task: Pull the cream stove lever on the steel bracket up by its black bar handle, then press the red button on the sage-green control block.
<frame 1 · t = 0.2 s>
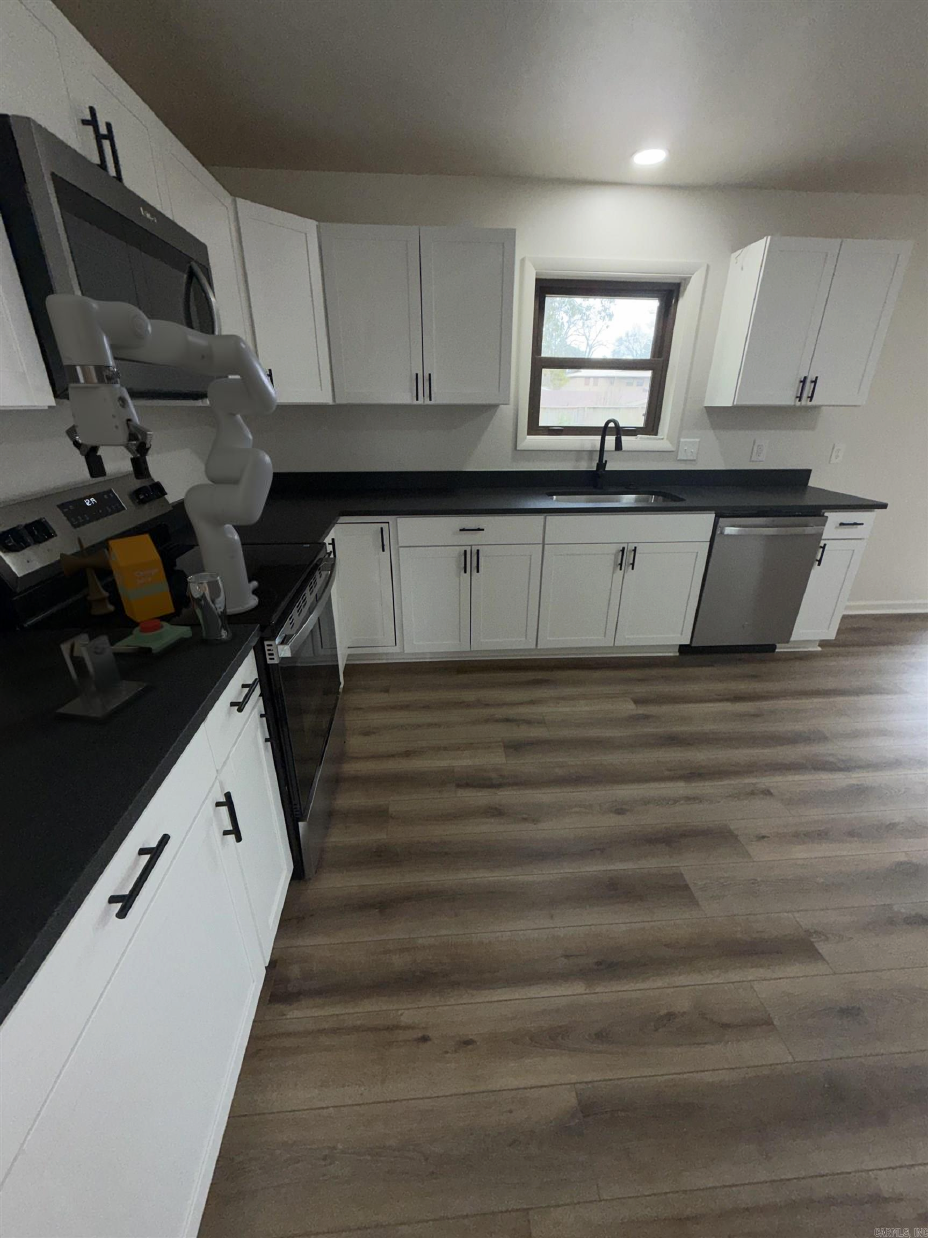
hand: (121, 477, 94), 37 cm above the counter, tool pointing down, fingers open, 9 cm apart
beer glass: (218, 639, 114), on the counter
stove lever: (112, 649, 91), point 9 cm above the counter, hinge at -28.0°
kendama: (103, 613, 127), on the counter
button block: (156, 644, 111), on the counter
start button: (150, 626, 109), point 4 cm above the counter, slide at 0.1 cm
lever bracket: (106, 702, 90), on the counter
orange juice: (150, 614, 127), on the counter
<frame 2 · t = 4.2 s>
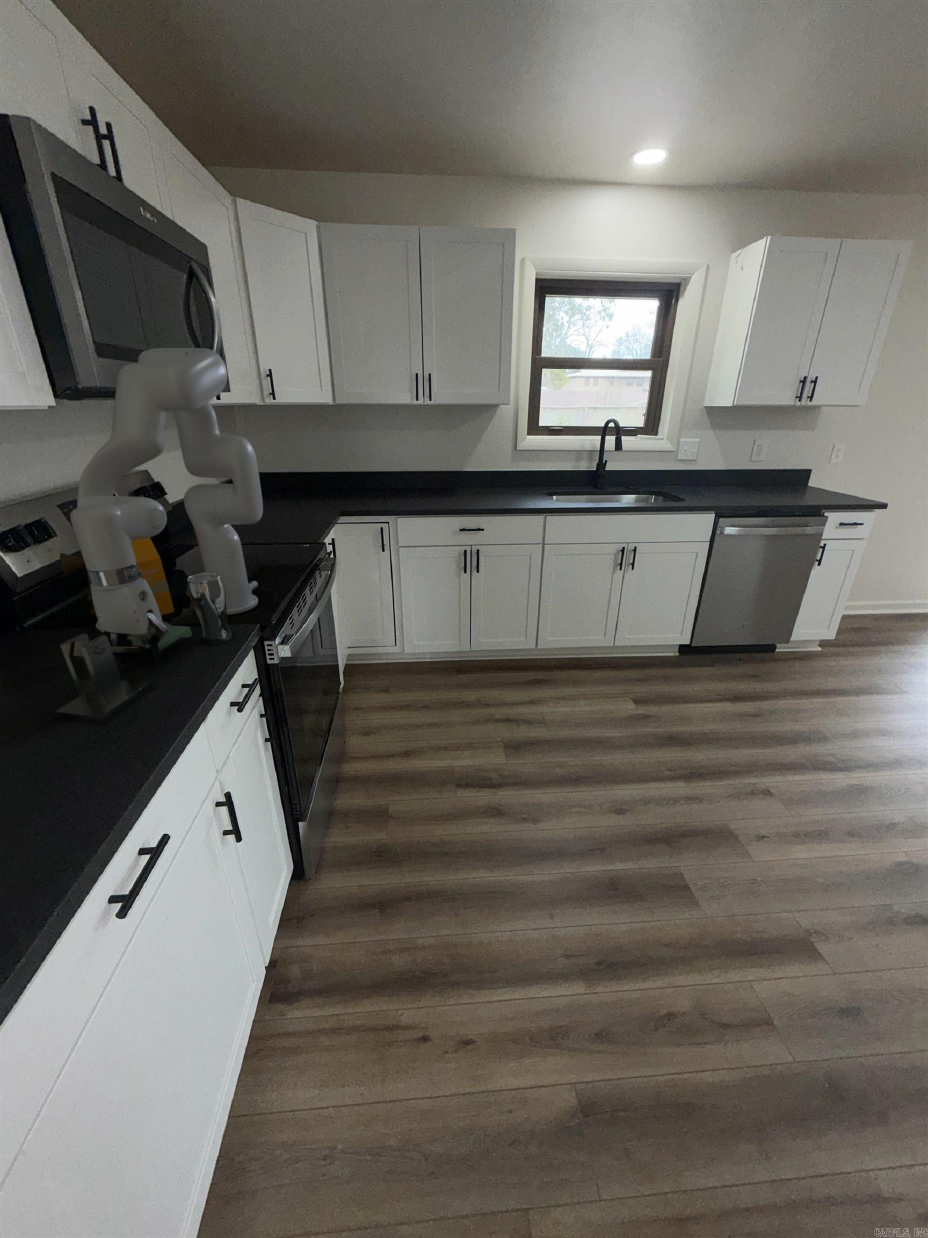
hand: (141, 661, 97), 3 cm above the counter, tool pointing down, fingers closed on stove lever, 5 cm apart
stove lever: (112, 649, 91), point 9 cm above the counter, hinge at -28.0°, touching gripper
everything else where it was.
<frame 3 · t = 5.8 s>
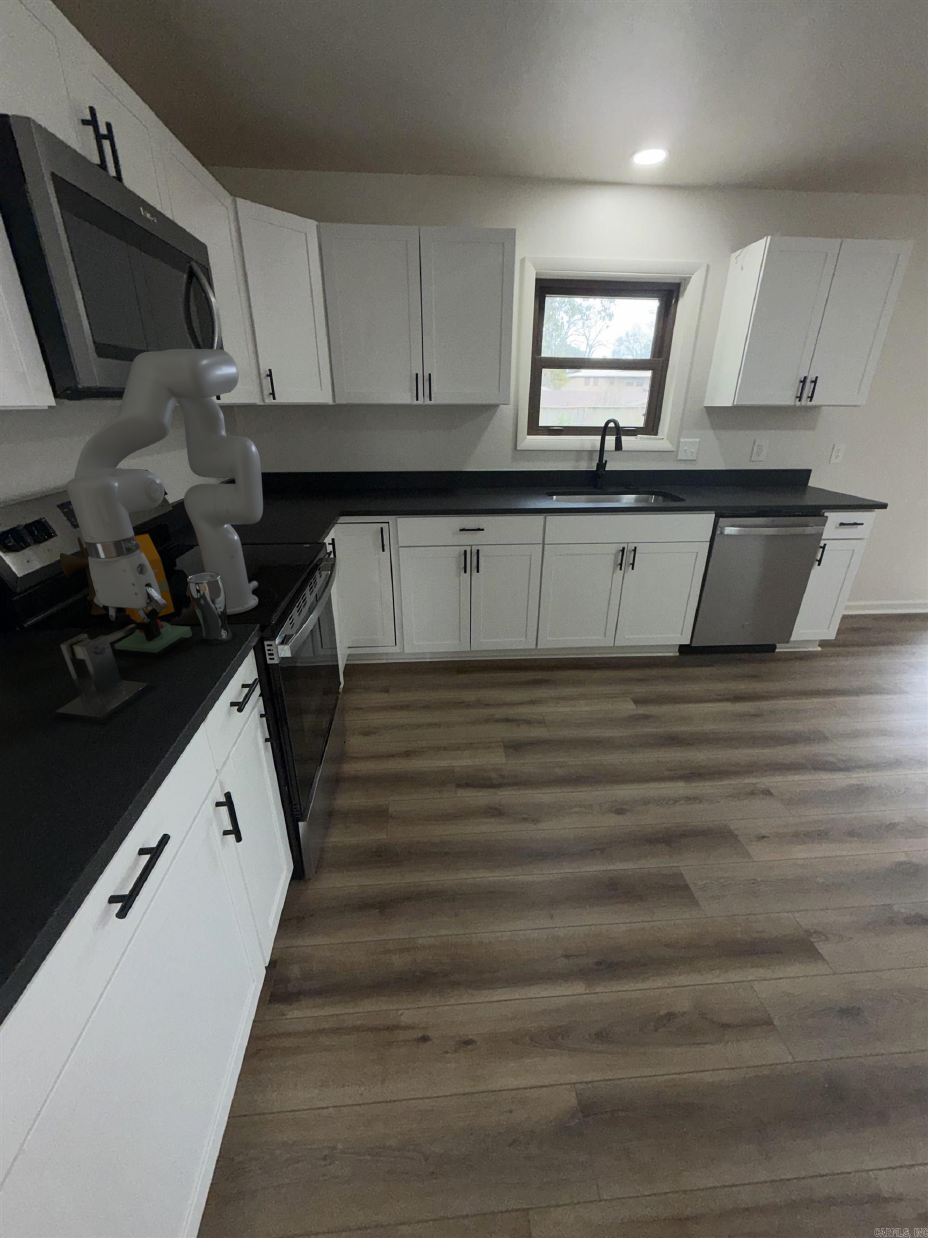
hand: (140, 636, 97), 8 cm above the counter, tool pointing down, fingers closed on stove lever, 5 cm apart
stove lever: (111, 637, 90), point 11 cm above the counter, hinge at -3.2°, touching gripper
everything else where it was.
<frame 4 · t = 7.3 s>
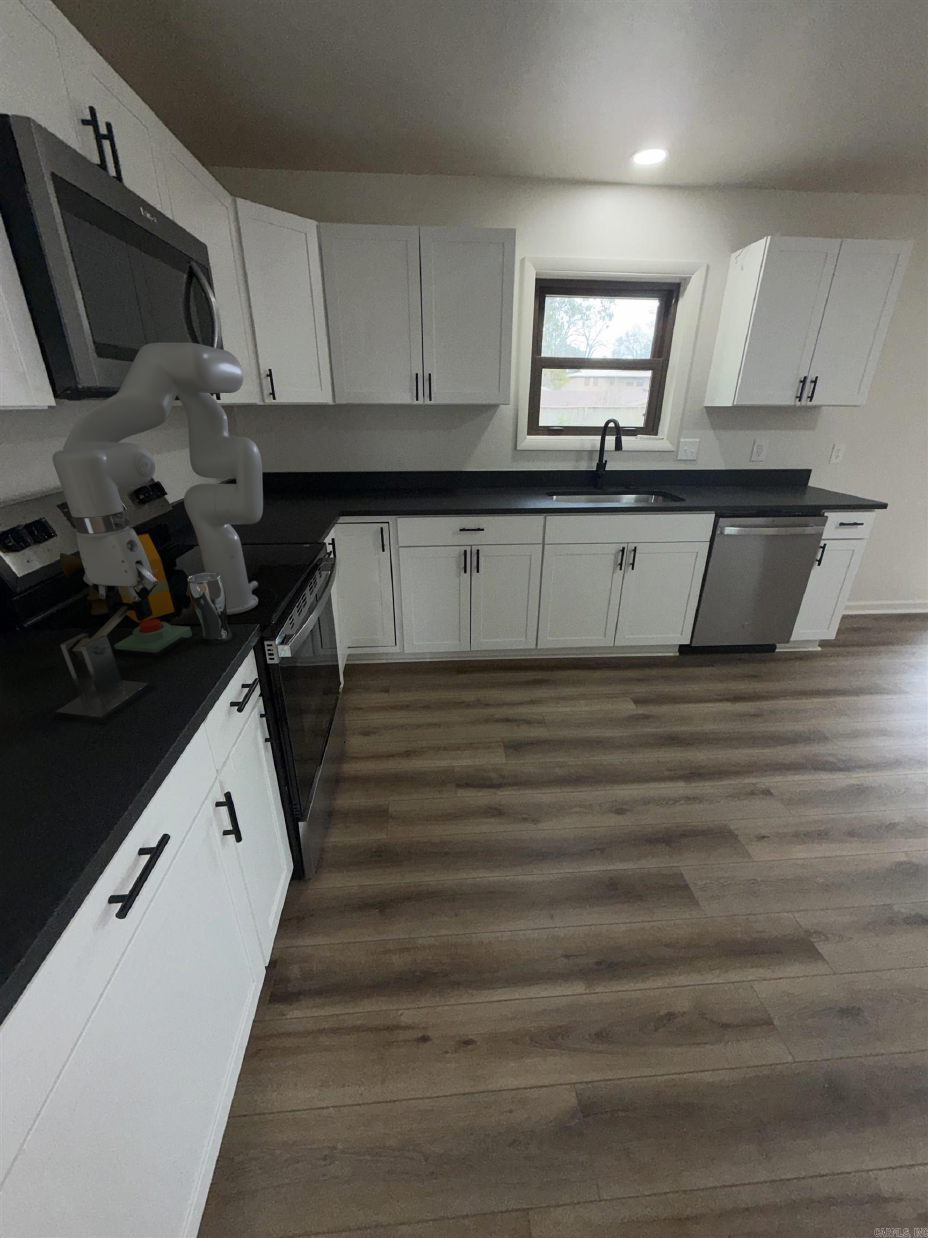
hand: (131, 615, 94), 13 cm above the counter, tool pointing down, fingers closed on stove lever, 5 cm apart
stove lever: (107, 628, 89), point 13 cm above the counter, hinge at 19.6°, touching gripper
everything else where it was.
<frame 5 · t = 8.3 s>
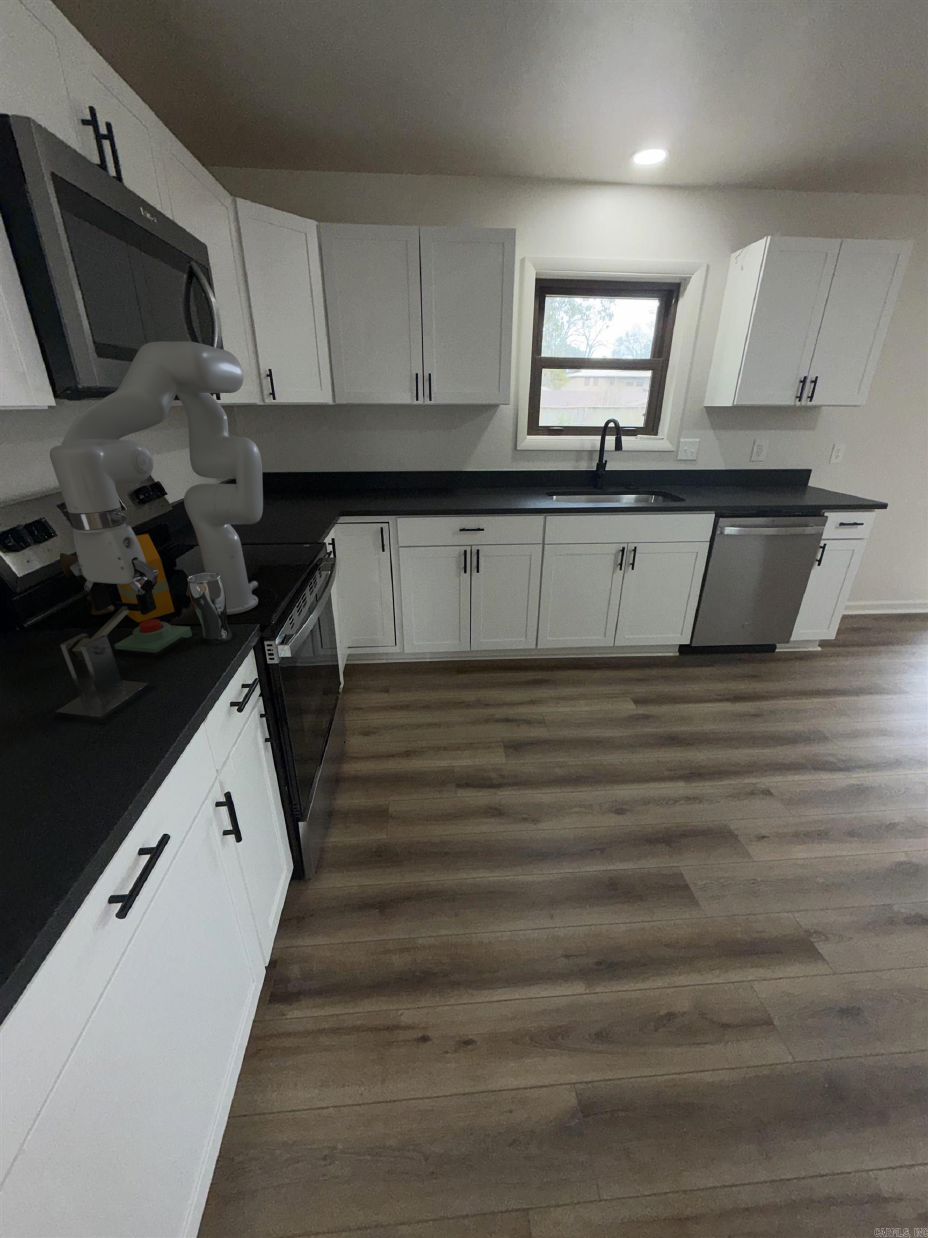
hand: (126, 610, 93), 14 cm above the counter, tool pointing down, fingers open, 9 cm apart
stove lever: (107, 628, 89), point 13 cm above the counter, hinge at 19.5°
everything else where it was.
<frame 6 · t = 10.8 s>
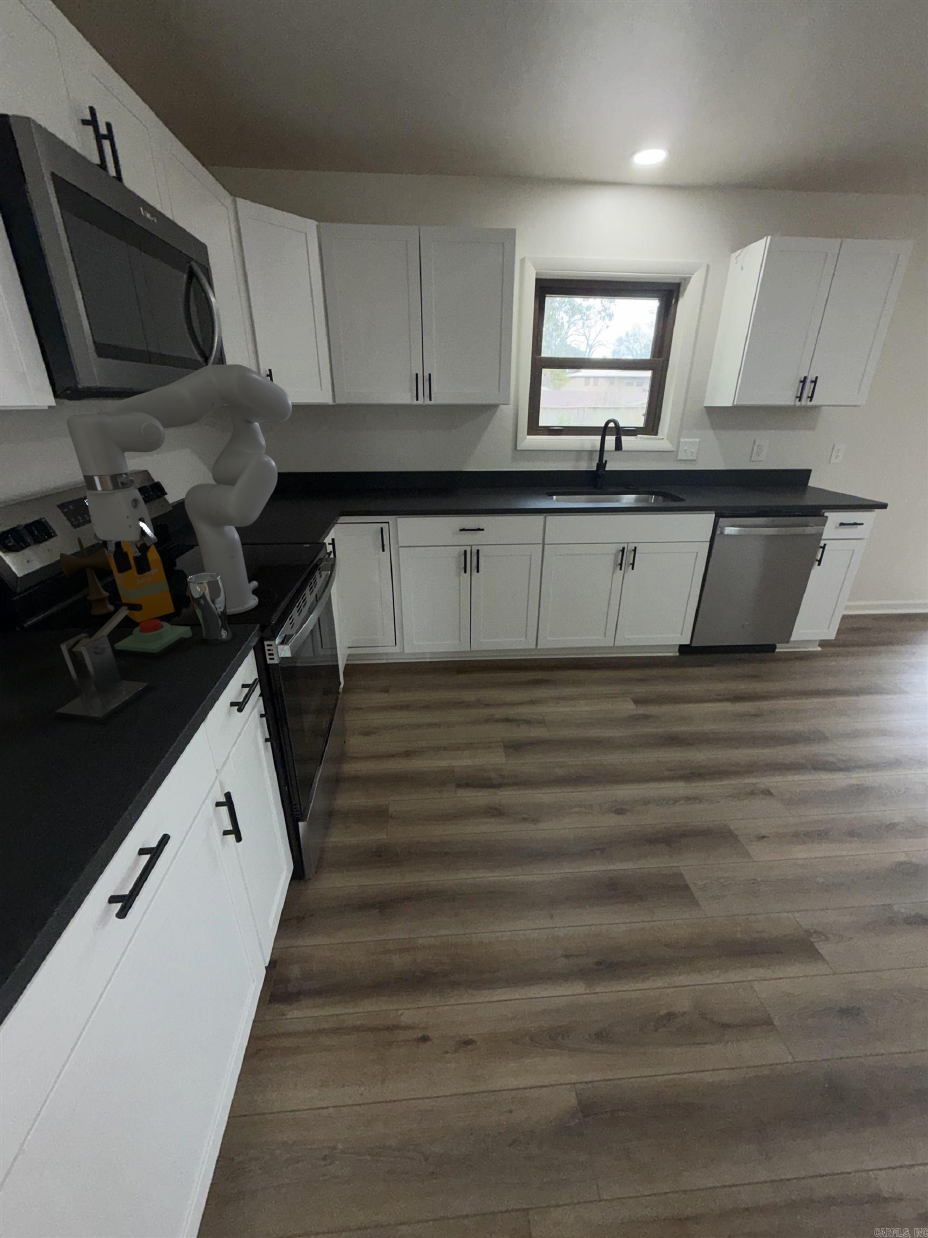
hand: (134, 571, 104), 17 cm above the counter, tool pointing down, fingers open, 3 cm apart
nothing on the counter moved.
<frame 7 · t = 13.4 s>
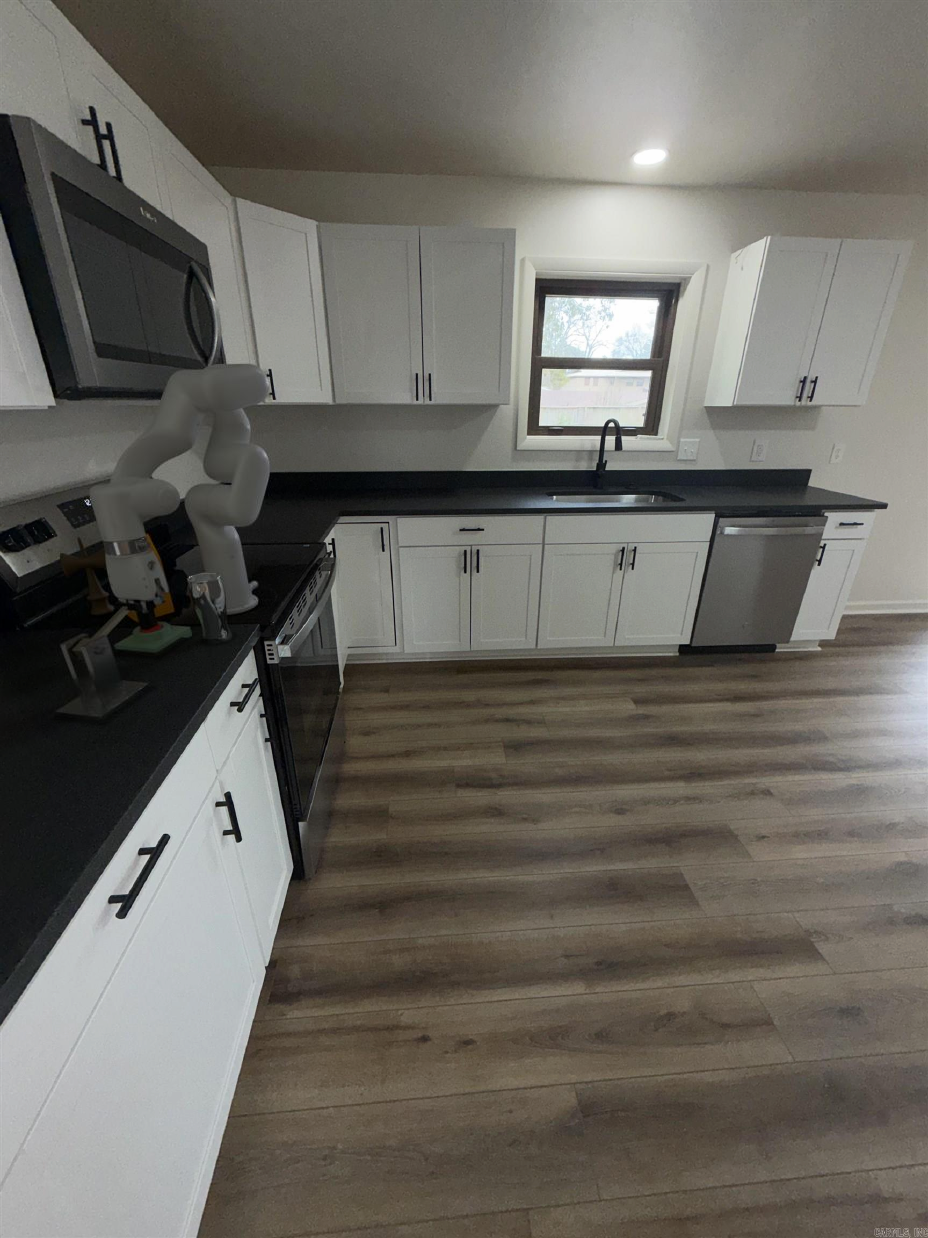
hand: (149, 627, 109), 4 cm above the counter, tool pointing down, fingers closed
start button: (151, 630, 110), point 3 cm above the counter, slide at -0.9 cm, touching gripper
everything else where it was.
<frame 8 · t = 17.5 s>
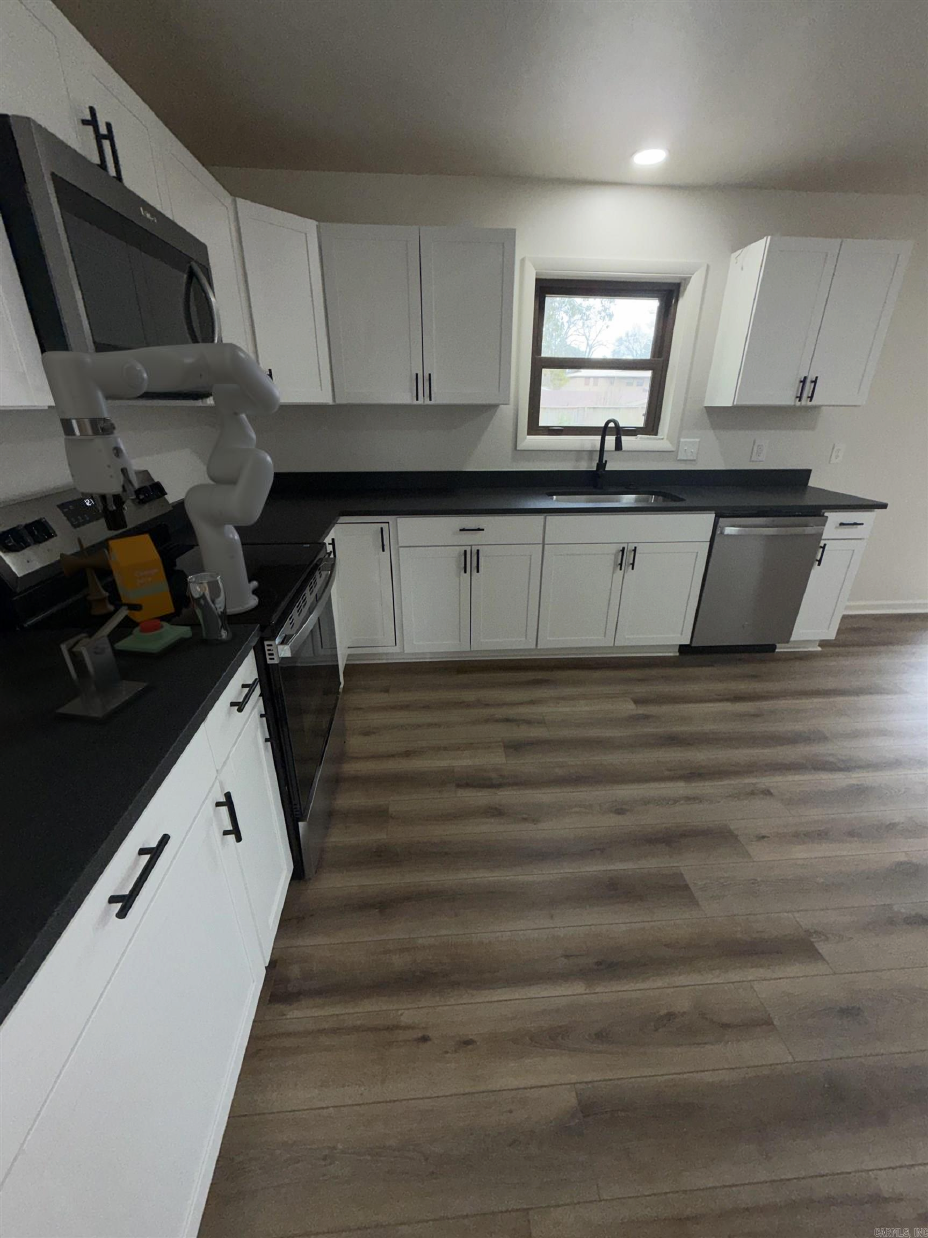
hand: (118, 529, 97), 27 cm above the counter, tool pointing down, fingers closed
start button: (150, 626, 109), point 4 cm above the counter, slide at 0.1 cm
everything else where it was.
at the end: stove lever at +20° (first picture: -28°); start button pushed in 1.1 cm at the most during the clip, back to where it started at the end; start button slide at 0.1 cm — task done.
